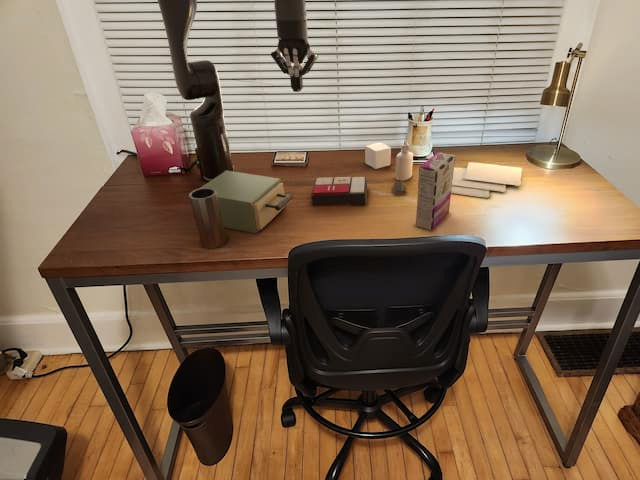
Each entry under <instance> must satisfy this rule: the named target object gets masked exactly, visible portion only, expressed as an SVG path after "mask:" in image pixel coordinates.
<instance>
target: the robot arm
mask: <svg viewBox="0 0 640 480" xmlns="http://www.w3.org/2000/svg"><path fill="white" fill-rule="evenodd" d="M157 3H158V7H159V10H160V14H161V17H162V21H163V26H164V30H165V34H166V38H167V43H168V48H169V54H170V59H171V65H172V71H173V76H174V77H173V78H174V81H175V84H176V89H177V90H178V92H179V95H180V96H181V97H182V99H183V100H186V101H193V100H200V99H203V101H202V102H201V104H200V105H199V106H197V107H196V108H194V109H193V110H192V111H191V112H190V114H189V118H190V123H191V127H192V131H193V135H194V140H195V144H196V147H195V148H194V152H195V156H196V158H195V160H194V161H192V162H191V164H190V166H184V167H185V169H183V170H185V171H190V170H192V169H193V168H194V167H195V165H196V169H198V170H199V174H200V178H201V179H203V180H204V181H206V182H207V183H208V182H210V181H211V180H213V179H214V178H216V177H217V176H219V175H220V174H222V173H223V172H225V171H226V170H227V171H233V172H235V171H234V170H235V166H234V163H233V159H232V155H231V154H232V153H231V149H230V143H229V139H228V132H227V128H226V122H225V116H224V104H223V99H222V90H221V82H220V77H219V73H218V70H217V68H216V66H215V64H214V63H213V62H212V61H211V60H206V59H204V60H198V61H197V60H195V61H189V60H188V42H189V36H190V32H191V29H192V27H193V23H194V21H195V17H196V14H197V8H198V1H197V0H157ZM274 14H275V25H276V34H277V39H278V42H277V48H276V49H275V50H274V51H272V52H270V56H271V58H272V59H273V60H274V62H275V63H276V65H277V67H278V68H279V69H280V70H281V72H282V73H283V74H286V75H288V76H289V79H290V80H289V81H290V88H291V90H292V92H294V93H299V92H301V91H302V90H303V88H304V83H303V80H304V79H303V76H305V75H306V74H309V73H310V72H311V69H312V68H313V66H314V64H315V63H316V61H317V60H318V58H319V54H318V53H317V52H314V51H313V50H312V49H311V45H310V43H309V31H308V18H307V16H308V12H307V5H306V0H274ZM305 59H306V62H305ZM120 150H121V151H120V152H118V151H116V155H118V156H119V155H120V154H121V153H124V154H125V153H126V154H128V155H132V156H135V157H137V158H139V157H138V156H137V154H138V153H137V152H134V151H131V150H128V149H120Z"/></svg>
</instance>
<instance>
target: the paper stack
mask: <svg viewBox="0 0 640 480" xmlns="http://www.w3.org/2000/svg"><path fill="white" fill-rule="evenodd" d="M522 170H523V168H522V167H516V166H509V165H508V166H507V165H501V164H490V163H483V162H473V161H468V164H467V167H458V166H454V170H453V180H452V188H451V194H456V195H462V196H463V195H464V196H472V197H476V198H477V197H479V198H485V199H489V196H490V192H491V191H492V192H493V191H495V192H503V193H506V188H507V185H509V186H518V187H521V184H522V173H523V172H522Z"/></svg>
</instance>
